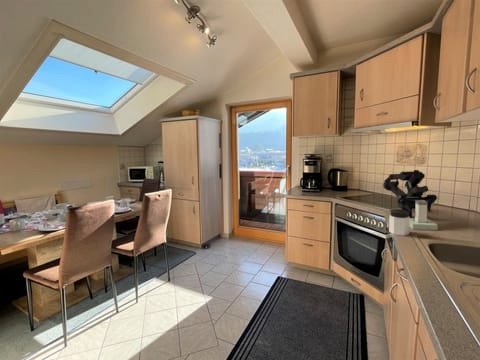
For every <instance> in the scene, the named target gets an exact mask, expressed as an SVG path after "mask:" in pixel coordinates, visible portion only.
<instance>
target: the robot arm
mask: <svg viewBox="0 0 480 360" xmlns="http://www.w3.org/2000/svg"><path fill="white" fill-rule="evenodd" d="M425 176H426V175H425V173H423V172H422V171H420V170H419V169H414V170H413V171H401V172H400V173H391V174H389V175H388V177H387V178H385V180H384V181H383V184H382V187H383V189H384V190H386V191H388V192H389V191H390V192H391V193H393V194H394V195H395V196H396V197H397V198H396V203H397V208H398V209H401V210H406V211H408V212H409V217H410V218H415V216H413V209H415V207H416V203H415V201H426V202H428V205H427V212H429V213H431V212H432V211H431V210H432V204H434V203H435V202H436V201H437V200H438V197H437V194H427V195H426V196H424V194H425V193H427V192H428V191H429V187H428V186H427V185H423V186H419V184H421V182H422V181H423V180H424V178H425ZM399 180H400V181H402V182H404V181H405V184H404V187H406V190H407V193H405V192H404V191H403V190H402V189H401V188H400V187H399V184H400V182H399Z"/></svg>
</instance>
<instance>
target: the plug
mask: <svg viewBox="0 0 480 360" xmlns="http://www.w3.org/2000/svg"><path fill="white" fill-rule="evenodd" d="M415 203H416V207H415V208H414V209H415V210H414V211H415V212H414V218H415V222H416V223H426V220H427V219H428V218H427V216H428V215H427V214H428V209H427V205H428V202H426V201H425V200H418V201H415Z"/></svg>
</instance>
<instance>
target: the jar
mask: <svg viewBox="0 0 480 360" xmlns="http://www.w3.org/2000/svg"><path fill="white" fill-rule="evenodd" d="M388 218H389V220H388V221H389V222H388V230H389V231H388V232H389V233H391V234H392V235H396V236H403V237H404V236H407V235H409V234H410V227H409V223H410V217H409V212H408V211H406V210H402V209H401V208H397V209H396V208H393V209H390V214H389V217H388Z"/></svg>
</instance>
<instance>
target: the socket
mask: <svg viewBox="0 0 480 360" xmlns="http://www.w3.org/2000/svg"><path fill="white" fill-rule="evenodd" d="M438 228H439V227H438V224H437V223H435V222H434V221H433V220H431V219H429V218H427V220H426V223H416V222H415V217H414V218H410V223H409V229H411V230H416V231H417V230H419V231H420V230H421V231H438Z"/></svg>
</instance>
